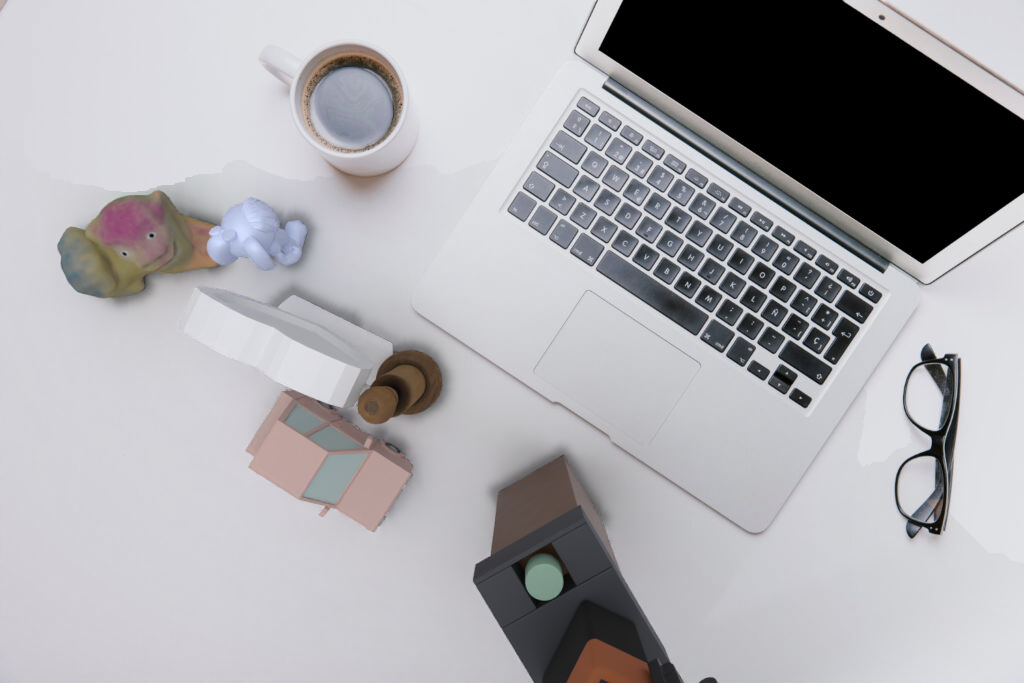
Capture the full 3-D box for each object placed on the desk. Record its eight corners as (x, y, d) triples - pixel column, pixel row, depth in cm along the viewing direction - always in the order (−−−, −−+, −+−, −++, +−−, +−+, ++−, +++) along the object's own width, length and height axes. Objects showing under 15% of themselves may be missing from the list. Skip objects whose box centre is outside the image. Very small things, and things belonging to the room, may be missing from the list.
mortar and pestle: (373, 403, 70) (322, 437, 52) (387, 343, 70) (340, 357, 52) (434, 418, 70) (404, 457, 52) (449, 358, 70) (423, 377, 52)
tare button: (568, 577, 48) (570, 589, 46) (536, 595, 48) (537, 608, 46) (550, 546, 47) (551, 557, 45) (518, 564, 48) (518, 575, 46)
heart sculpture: (409, 351, 69) (362, 363, 51) (388, 394, 70) (335, 421, 52) (276, 285, 70) (184, 275, 52) (256, 329, 70) (157, 333, 52)
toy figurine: (318, 215, 69) (276, 197, 57) (311, 277, 70) (267, 272, 58) (253, 206, 69) (197, 186, 57) (245, 267, 70) (188, 260, 58)
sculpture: (109, 316, 70) (40, 318, 60) (74, 241, 70) (-1, 231, 60) (235, 259, 70) (187, 252, 60) (200, 183, 69) (146, 163, 59)
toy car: (379, 526, 71) (356, 563, 61) (258, 449, 71) (214, 473, 61) (427, 454, 71) (411, 479, 61) (304, 375, 70) (268, 387, 60)
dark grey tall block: (622, 545, 71) (674, 670, 47) (549, 587, 71) (562, 731, 47) (562, 444, 70) (584, 517, 46) (489, 486, 71) (472, 580, 47)
